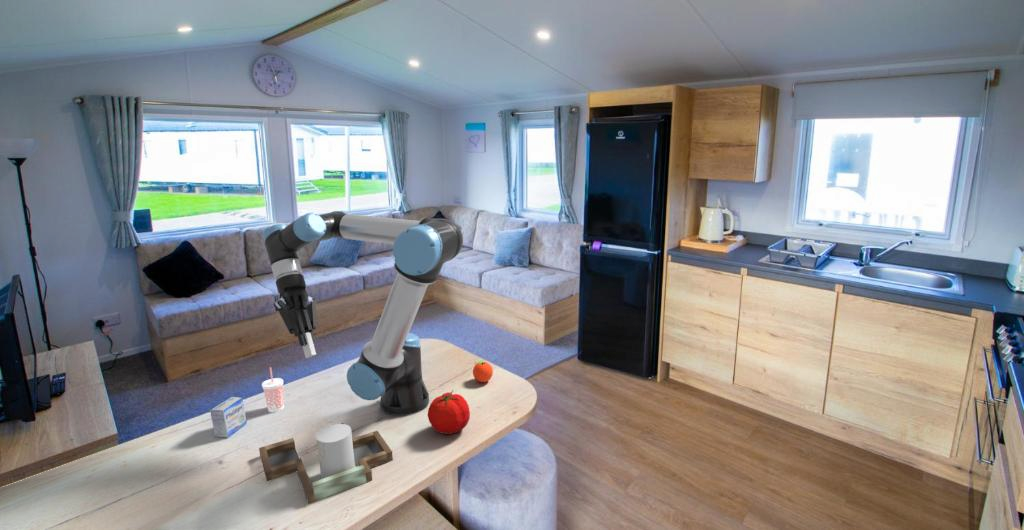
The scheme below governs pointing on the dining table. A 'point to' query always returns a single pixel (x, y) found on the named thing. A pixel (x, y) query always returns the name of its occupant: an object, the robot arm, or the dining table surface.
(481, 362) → the clementine
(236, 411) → the medicine box
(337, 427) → the gray cylinder
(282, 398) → the beverage cup
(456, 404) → the tomato
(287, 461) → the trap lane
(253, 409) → the dining table surface
